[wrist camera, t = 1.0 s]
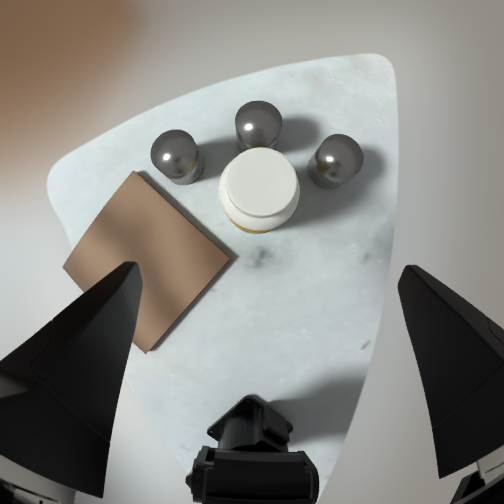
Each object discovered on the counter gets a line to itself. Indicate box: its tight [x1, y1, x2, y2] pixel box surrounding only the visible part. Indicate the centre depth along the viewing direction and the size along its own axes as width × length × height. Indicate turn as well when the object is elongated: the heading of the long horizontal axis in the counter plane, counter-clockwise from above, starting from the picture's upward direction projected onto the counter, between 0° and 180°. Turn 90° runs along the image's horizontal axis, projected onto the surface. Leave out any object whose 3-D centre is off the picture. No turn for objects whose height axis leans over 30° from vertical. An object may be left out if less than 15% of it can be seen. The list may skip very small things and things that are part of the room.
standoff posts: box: [151, 101, 363, 188], centre depth 23 cm, size 6×17×4 cm, turn 89°
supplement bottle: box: [218, 147, 300, 234], centre depth 20 cm, size 5×5×10 cm
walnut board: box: [63, 170, 230, 354], centre depth 25 cm, size 12×12×1 cm
